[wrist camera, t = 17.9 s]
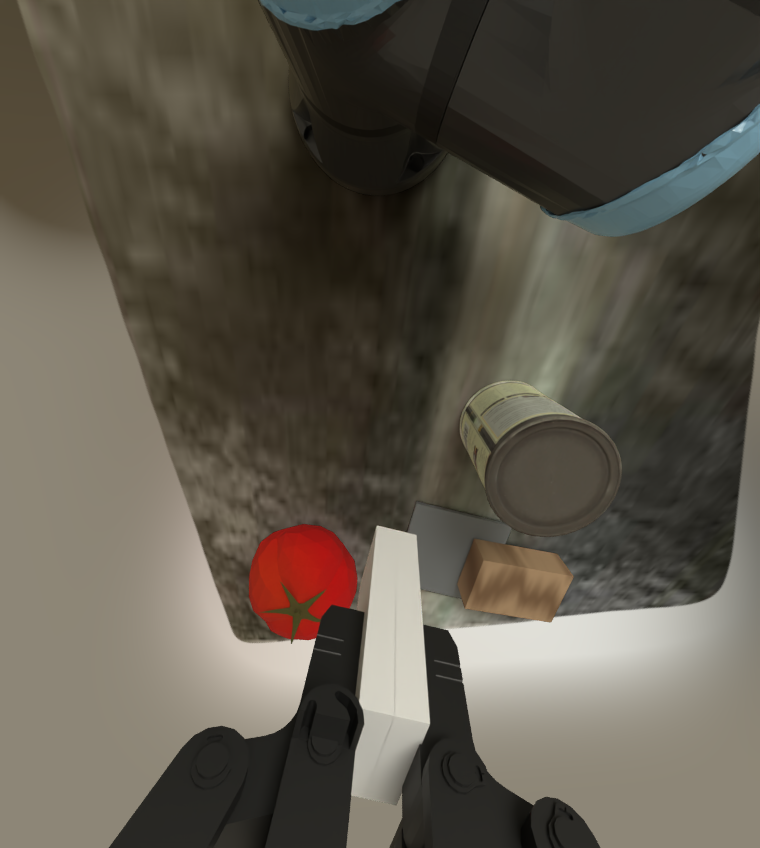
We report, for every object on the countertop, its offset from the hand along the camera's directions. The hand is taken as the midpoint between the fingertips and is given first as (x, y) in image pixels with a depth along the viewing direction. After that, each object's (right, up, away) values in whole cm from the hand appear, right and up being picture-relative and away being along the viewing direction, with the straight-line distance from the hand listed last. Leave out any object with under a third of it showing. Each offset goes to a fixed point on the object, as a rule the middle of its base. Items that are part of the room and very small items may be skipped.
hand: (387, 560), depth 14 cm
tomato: (-9, -11, +35) cm, 38 cm away
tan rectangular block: (+10, -13, +31) cm, 36 cm away
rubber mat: (+9, -11, +34) cm, 37 cm away
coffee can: (+14, +5, +29) cm, 32 cm away
